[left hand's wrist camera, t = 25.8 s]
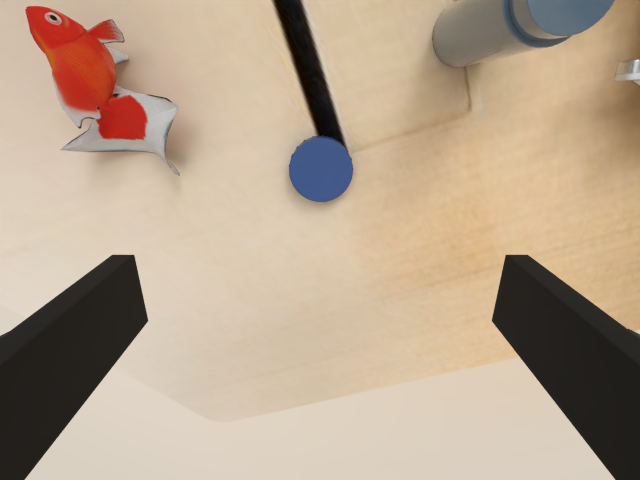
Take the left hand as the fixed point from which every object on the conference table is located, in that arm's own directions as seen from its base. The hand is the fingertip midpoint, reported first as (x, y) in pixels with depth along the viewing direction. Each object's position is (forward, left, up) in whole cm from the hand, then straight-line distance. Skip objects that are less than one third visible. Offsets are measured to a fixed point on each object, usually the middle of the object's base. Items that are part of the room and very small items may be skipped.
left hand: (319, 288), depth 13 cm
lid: (0, 0, -24) cm, 24 cm away
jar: (+9, +16, -26) cm, 32 cm away
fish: (-19, 0, -26) cm, 32 cm away
